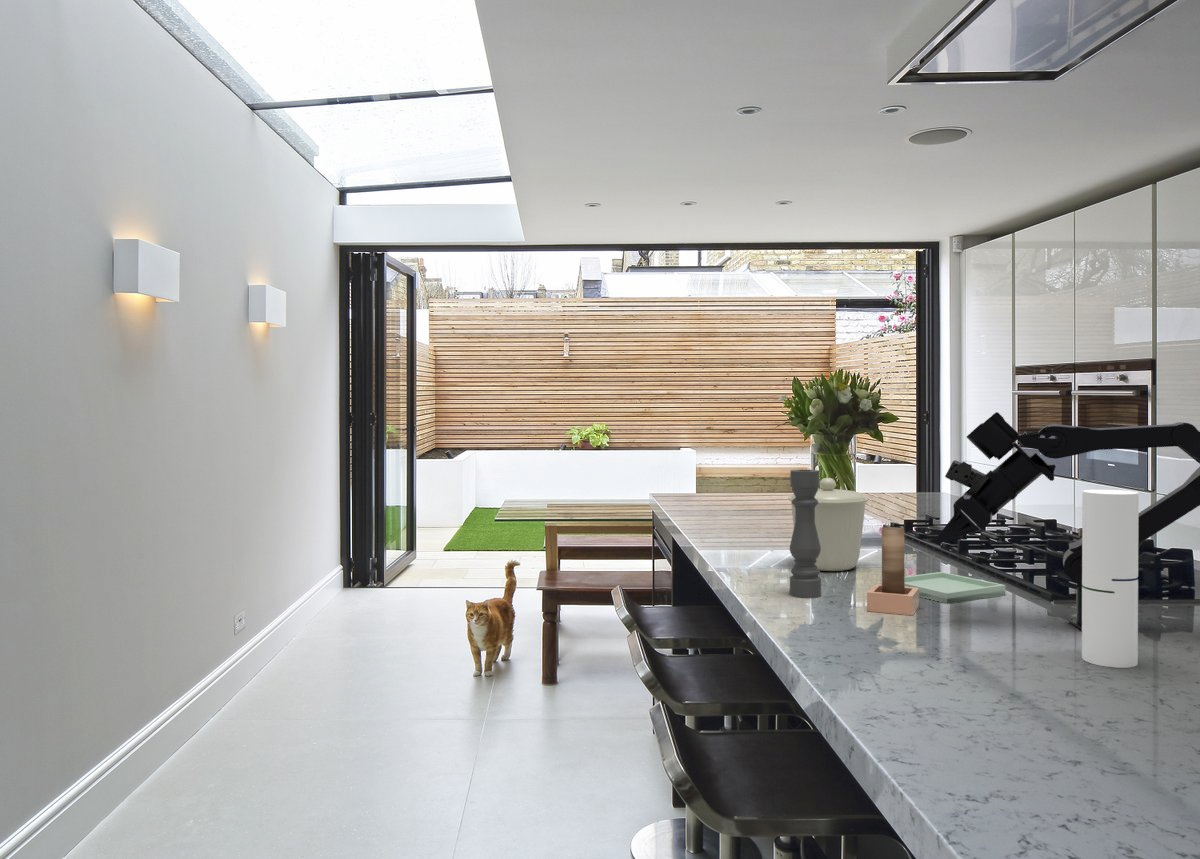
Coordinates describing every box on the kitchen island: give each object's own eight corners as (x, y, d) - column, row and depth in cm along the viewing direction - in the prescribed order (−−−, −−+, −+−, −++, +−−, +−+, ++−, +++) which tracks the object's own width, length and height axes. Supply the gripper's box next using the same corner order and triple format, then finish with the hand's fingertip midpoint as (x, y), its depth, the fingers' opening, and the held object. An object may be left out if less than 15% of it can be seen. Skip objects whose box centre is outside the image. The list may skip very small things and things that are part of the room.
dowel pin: (906, 611, 162) (906, 530, 161) (884, 611, 162) (883, 530, 162) (902, 606, 166) (902, 527, 165) (880, 606, 166) (880, 527, 166)
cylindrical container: (1145, 668, 126) (1146, 494, 125) (1091, 666, 127) (1092, 494, 126) (1126, 654, 133) (1127, 489, 132) (1075, 652, 134) (1075, 489, 133)
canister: (773, 565, 210) (772, 477, 209) (833, 558, 217) (832, 473, 217) (822, 578, 193) (821, 482, 193) (885, 570, 201) (885, 478, 201)
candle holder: (818, 591, 180) (818, 469, 179) (823, 598, 173) (822, 471, 173) (788, 591, 180) (787, 469, 180) (791, 597, 174) (790, 471, 173)
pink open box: (918, 606, 166) (918, 587, 166) (912, 615, 159) (912, 596, 158) (875, 602, 169) (875, 584, 169) (867, 611, 162) (866, 592, 162)
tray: (1005, 595, 174) (1005, 585, 174) (947, 603, 167) (947, 593, 167) (941, 581, 189) (941, 571, 189) (885, 588, 182) (885, 579, 182)
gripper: (979, 443, 165) (916, 498, 170) (970, 448, 148) (900, 509, 154) (1025, 487, 161) (959, 542, 167) (1020, 497, 145) (948, 558, 150)
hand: (941, 536), depth 160 cm, fingers open, 9 cm apart
